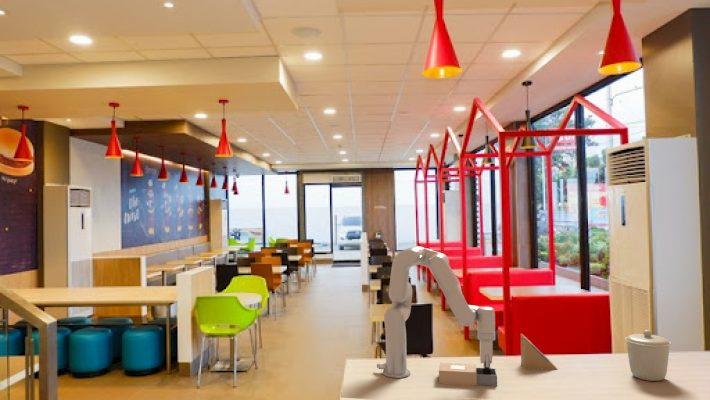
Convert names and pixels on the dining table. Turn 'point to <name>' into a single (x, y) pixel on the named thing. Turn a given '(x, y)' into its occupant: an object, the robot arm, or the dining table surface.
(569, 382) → the dining table surface
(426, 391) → the dining table surface
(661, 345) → the canister
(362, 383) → the dining table surface
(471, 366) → the mailer sleeve
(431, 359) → the dining table surface
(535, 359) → the sandwich container
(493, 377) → the tray
